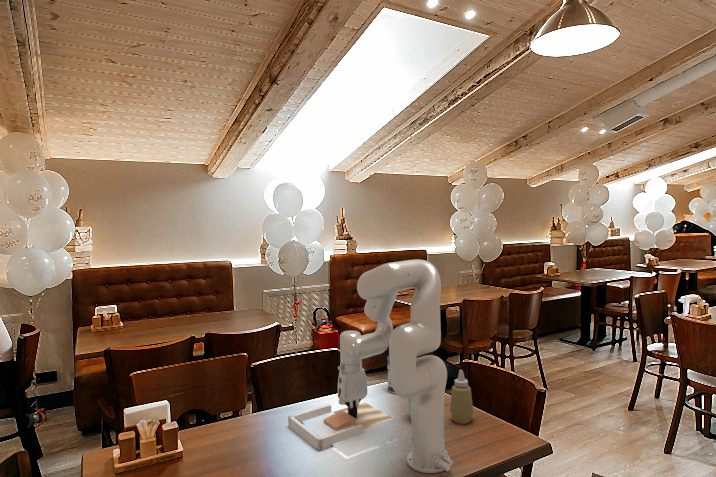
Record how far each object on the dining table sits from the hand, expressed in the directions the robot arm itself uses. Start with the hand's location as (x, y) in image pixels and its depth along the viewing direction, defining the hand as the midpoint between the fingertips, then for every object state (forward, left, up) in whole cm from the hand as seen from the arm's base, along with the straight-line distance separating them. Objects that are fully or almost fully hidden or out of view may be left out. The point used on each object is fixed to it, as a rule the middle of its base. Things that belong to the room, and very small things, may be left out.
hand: (352, 417), depth 169 cm
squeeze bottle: (-23, -31, -2) cm, 38 cm away
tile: (0, +5, -1) cm, 5 cm away
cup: (-14, -19, -2) cm, 23 cm away
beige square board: (0, -5, -2) cm, 5 cm away
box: (0, +11, -2) cm, 12 cm away
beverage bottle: (+12, -31, -2) cm, 33 cm away
